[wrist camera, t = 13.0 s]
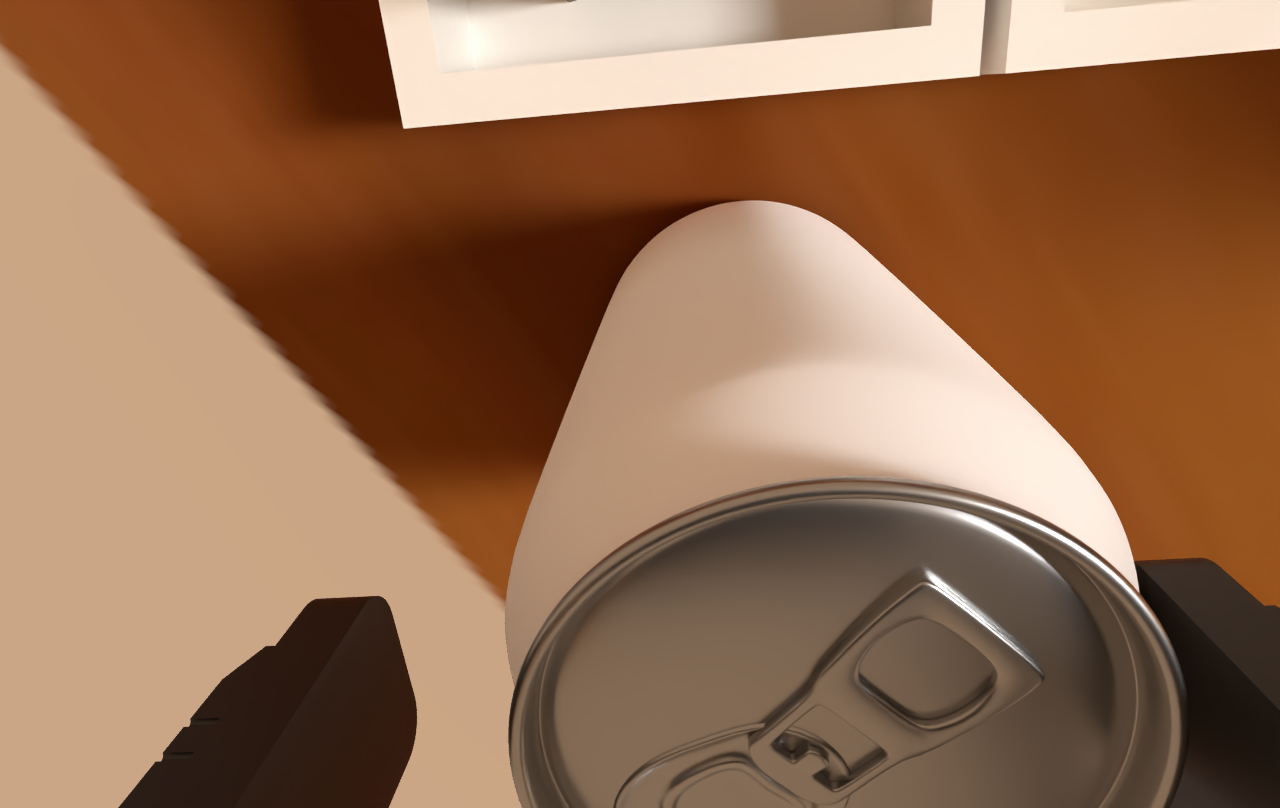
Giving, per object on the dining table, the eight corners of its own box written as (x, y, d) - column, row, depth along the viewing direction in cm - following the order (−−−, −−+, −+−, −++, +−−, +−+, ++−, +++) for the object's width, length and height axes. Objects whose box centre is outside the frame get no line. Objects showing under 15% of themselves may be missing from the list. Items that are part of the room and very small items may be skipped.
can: (550, 353, 18) (318, 783, 7) (734, 130, 16) (835, 229, 5) (752, 510, 19) (834, 1086, 8) (948, 325, 17) (1427, 766, 6)
